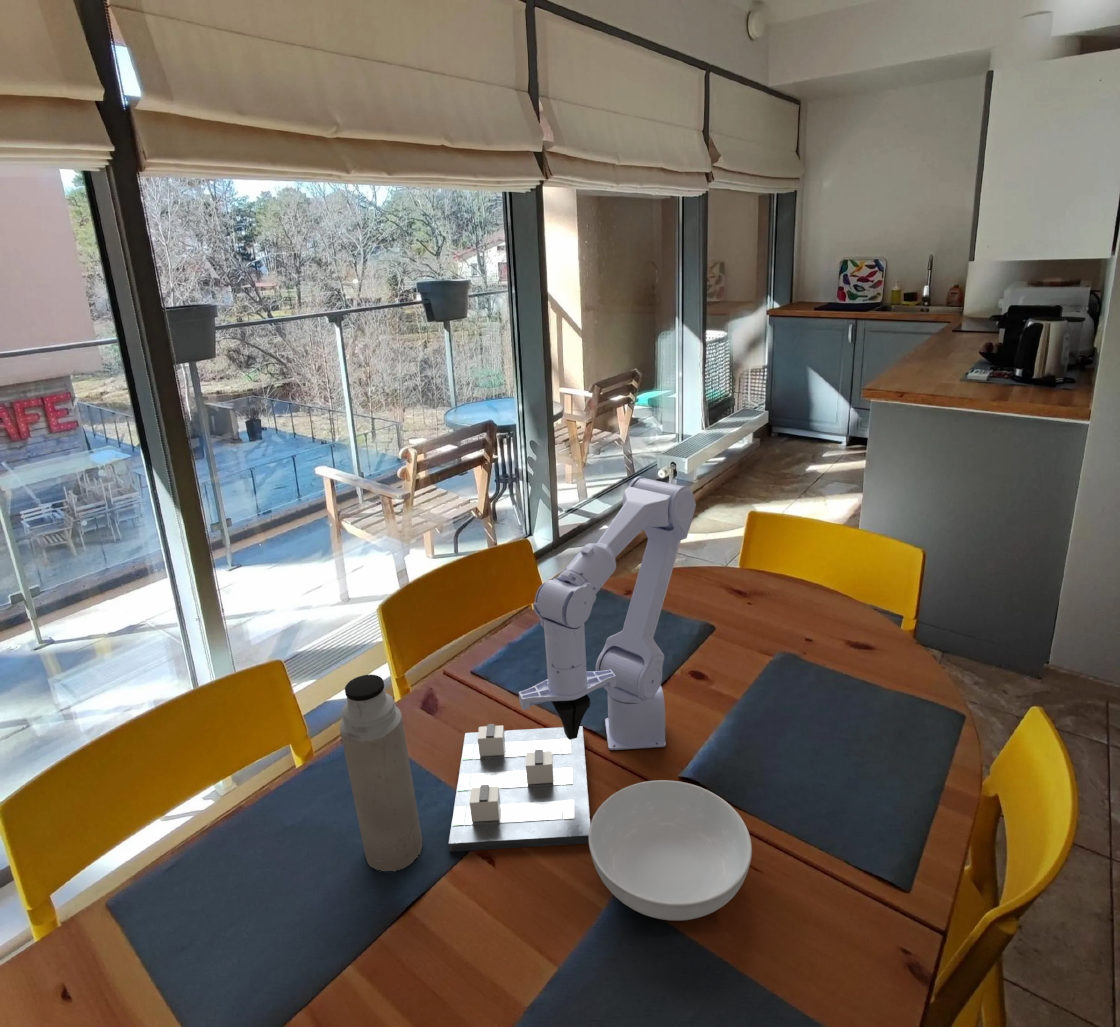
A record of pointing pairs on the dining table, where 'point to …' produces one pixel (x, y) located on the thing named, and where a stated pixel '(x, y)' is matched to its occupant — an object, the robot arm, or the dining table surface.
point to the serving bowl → (670, 849)
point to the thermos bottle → (380, 775)
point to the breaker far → (491, 740)
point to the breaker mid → (539, 767)
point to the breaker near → (485, 803)
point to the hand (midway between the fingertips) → (570, 735)
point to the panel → (524, 794)
